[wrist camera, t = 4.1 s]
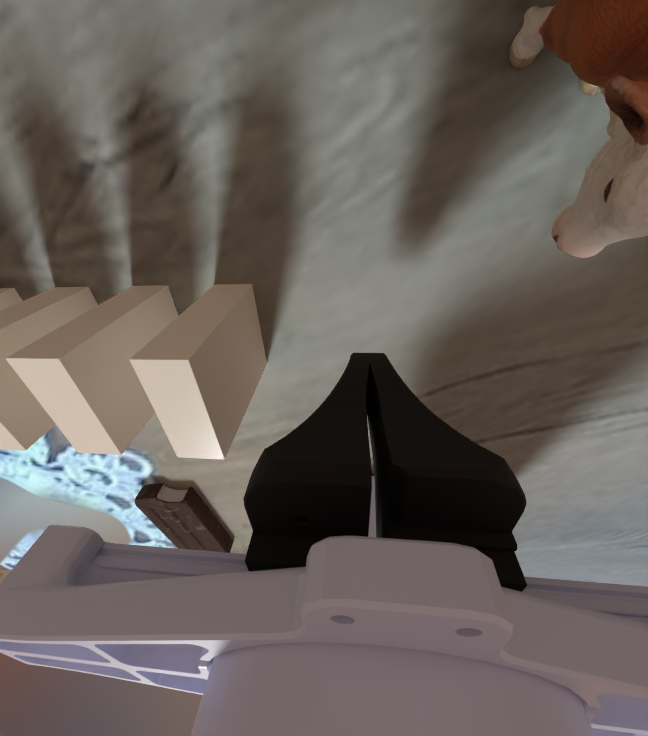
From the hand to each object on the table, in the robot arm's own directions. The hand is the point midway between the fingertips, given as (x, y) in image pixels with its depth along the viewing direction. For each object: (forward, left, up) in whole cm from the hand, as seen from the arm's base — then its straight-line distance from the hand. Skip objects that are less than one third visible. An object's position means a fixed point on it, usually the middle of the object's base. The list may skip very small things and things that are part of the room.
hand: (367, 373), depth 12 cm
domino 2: (+11, -4, -4) cm, 12 cm away
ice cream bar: (+23, +16, -5) cm, 28 cm away
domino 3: (+6, -2, -4) cm, 8 cm away
